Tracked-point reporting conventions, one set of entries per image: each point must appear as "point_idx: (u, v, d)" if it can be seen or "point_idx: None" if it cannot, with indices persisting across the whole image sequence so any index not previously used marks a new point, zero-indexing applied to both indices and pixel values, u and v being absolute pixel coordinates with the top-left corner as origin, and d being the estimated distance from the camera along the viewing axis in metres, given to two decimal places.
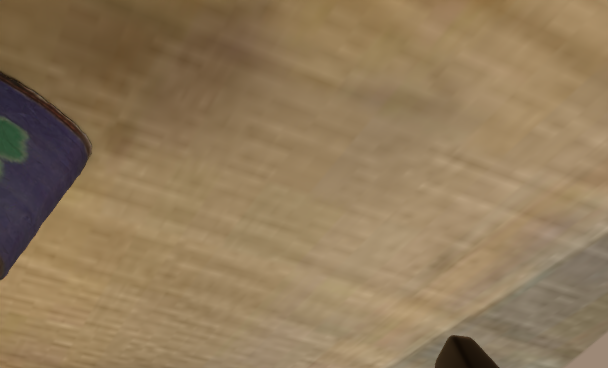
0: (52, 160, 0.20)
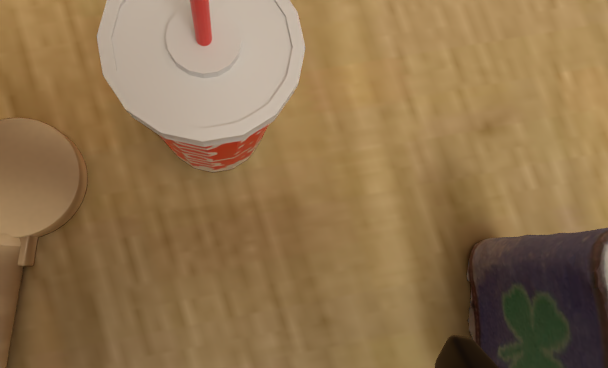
0: None
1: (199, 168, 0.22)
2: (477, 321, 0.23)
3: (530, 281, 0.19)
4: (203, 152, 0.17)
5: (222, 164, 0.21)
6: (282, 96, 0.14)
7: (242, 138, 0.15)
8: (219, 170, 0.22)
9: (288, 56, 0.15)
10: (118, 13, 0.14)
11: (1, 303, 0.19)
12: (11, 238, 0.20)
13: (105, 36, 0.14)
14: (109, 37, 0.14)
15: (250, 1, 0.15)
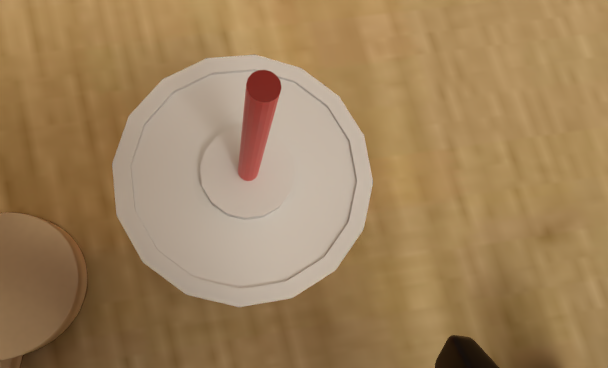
0: None
1: None
2: None
3: None
4: None
5: None
6: (343, 246, 0.11)
7: None
8: None
9: (351, 193, 0.12)
10: (141, 133, 0.11)
11: None
12: None
13: (123, 164, 0.11)
14: (128, 165, 0.11)
15: (306, 120, 0.12)
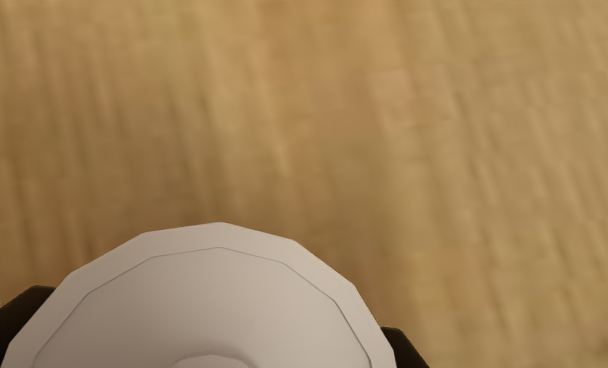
0: None
1: None
2: None
3: None
4: None
5: None
6: None
7: None
8: None
9: None
10: None
11: None
12: None
13: None
14: None
15: (302, 326, 0.07)
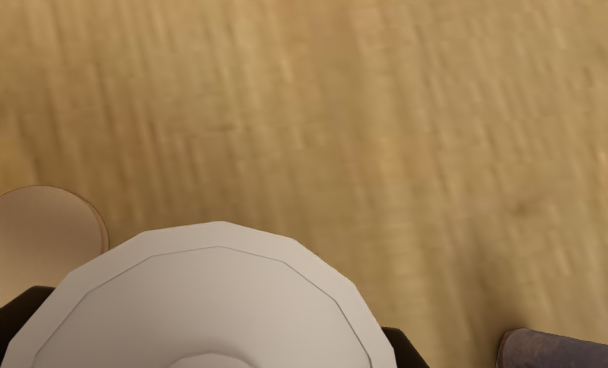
0: None
1: None
2: None
3: None
4: None
5: None
6: None
7: None
8: None
9: None
10: None
11: None
12: None
13: None
14: None
15: (302, 325, 0.07)
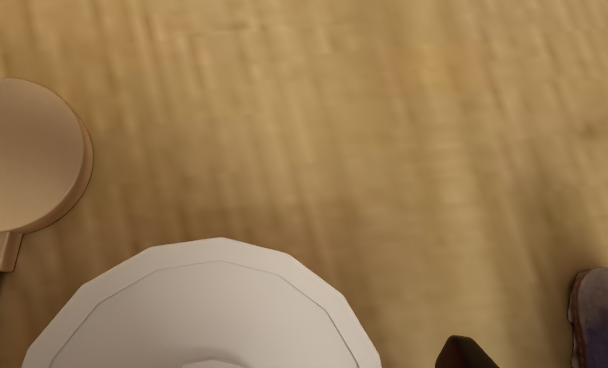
0: None
1: None
2: None
3: None
4: None
5: None
6: None
7: None
8: None
9: None
10: None
11: None
12: None
13: None
14: None
15: (295, 334, 0.08)
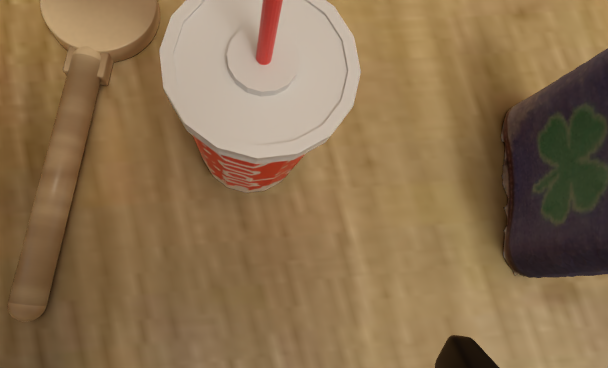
0: None
1: (233, 188, 0.22)
2: (510, 176, 0.25)
3: (567, 103, 0.21)
4: (247, 170, 0.17)
5: (258, 184, 0.21)
6: (337, 118, 0.14)
7: (294, 157, 0.15)
8: (252, 191, 0.22)
9: (343, 79, 0.15)
10: (181, 29, 0.14)
11: (82, 104, 0.21)
12: (93, 51, 0.22)
13: (167, 51, 0.14)
14: (171, 52, 0.14)
15: (308, 25, 0.15)
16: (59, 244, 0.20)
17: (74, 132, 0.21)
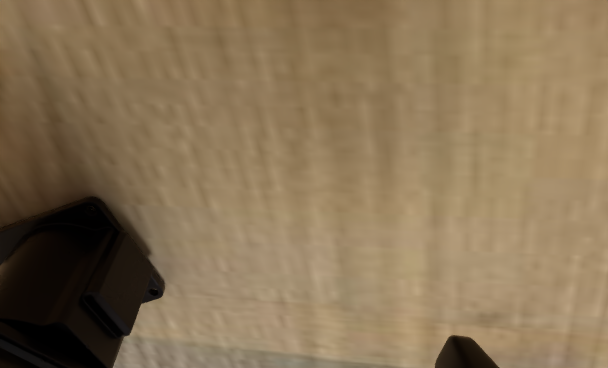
0: None
1: None
2: None
3: None
4: None
5: None
6: None
7: None
8: None
9: None
10: None
11: None
12: None
13: None
14: None
15: None
16: None
17: None
